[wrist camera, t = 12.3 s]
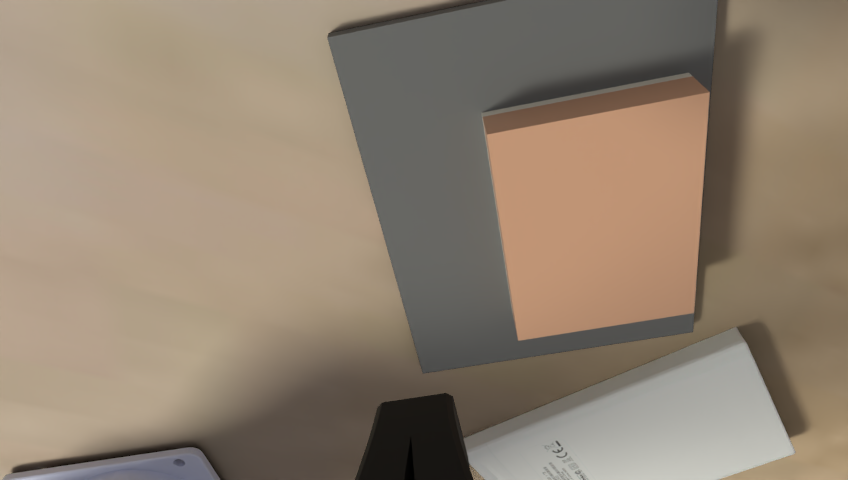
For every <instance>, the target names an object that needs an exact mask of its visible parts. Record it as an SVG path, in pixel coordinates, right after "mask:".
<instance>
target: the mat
mask: <svg viewBox="0 0 848 480" xmlns="http://www.w3.org/2000/svg"><path fill="white" fill-rule="evenodd" d="M717 4H718V0H486V1H481V2H477V3H472V4H467V5H462V6H457V7H453V8H448V9H443V10H438V11H433V12H429V13H424V14H419V15H414V16H409V17H405V18H400V19H395V20H390V21H385V22H381V23H376V24H371V25H366V26H361V27H357V28H352V29H347V30H342V31H337V32H333V33H329V34H328V37H327V38H328V42H329V45H330V49H331V52H332V56H333V59H334V63H335V66H336V70H337V73H338V77H339V80H340V84H341V87H342V91H343V94H344V98H345V101H346V105H347V108H348V112H349V115H350V119H351V122H352V126H353V130H354V133H355V137H356V140H357V144H358V147H359V151H360V154H361V158H362V161H363V165H364V168H365V172H366V175H367V179H368V182H369V186H370V189H371V193H372V196H373V200H374V203H375V207H376V210H377V214H378V217H379V221H380V224H381V228H382V231H383V235H384V238H385V242H386V246H387V249H388V253H389V256H390V260H391V263H392V267H393V270H394V274H395V277H396V281H397V284H398V288H399V291H400V295H401V298H402V302H403V305H404V309H405V312H406V316H407V319H408V323H409V326H410V330H411V333H412V337H413V340H414V344H415V347H416V351H417V355H418V358H419V362H420V365H421V369H422V372H423V373H429V372H436V371H442V370H449V369H455V368H462V367H468V366H475V365H481V364H488V363H494V362H501V361H507V360H514V359H520V358H527V357H533V356H540V355H546V354H553V353H560V352H566V351H573V350H579V349H586V348H592V347H599V346H605V345H612V344H618V343H625V342H631V341H638V340H644V339H651V338H657V337H664V336H670V335H677V334H683V333H690V332H693V325H694V313H691V314H685V315H678V316H672V317H666V318H659V319H653V320H647V321H640V322H634V323H628V324H621V325H615V326H609V327H602V328H596V329H590V330H583V331H577V332H571V333H564V334H558V335H552V336H545V337H539V338H533V339H526V340H520V341H518V337H517V332H516V327H515V323H514V318H513V313H512V307H511V301H510V294H509V288H508V281H507V275H506V268H505V262H504V255H503V249H502V242H501V236H500V230H499V223H498V217H497V210H496V204H495V197H494V191H493V184H492V178H491V171H490V165H489V159H488V152H487V146H486V139H485V133H484V126H483V120H482V113H483V112H488V111H493V110H498V109H503V108H508V107H513V106H519V105H524V104H529V103H534V102H539V101H544V100H550V99H555V98H560V97H565V96H570V95H575V94H581V93H586V92H591V91H596V90H601V89H606V88H611V87H617V86H622V85H627V84H632V83H637V82H642V81H648V80H653V79H658V78H663V77H668V76H673V75H679V74H684V73H690V74H691V75H692V76H693V77H694V78H695V79H696V80H697V81H698V82H699V83H700V84H702V85H703V86H704V87H705V88H706V89H707V90H708V91H709V92H710V96H709V110H708V124H709V111H710V97H711V84H712V71H713V57H714V44H715V31H716V17H717ZM708 124H707V138H708ZM707 138H706V151H707ZM705 164H706V152H705ZM704 178H705V166H704ZM703 191H704V180H703ZM702 205H703V194H702ZM701 218H702V208H701ZM700 231H701V223H700ZM699 245H700V237H699ZM698 258H699V251H698ZM697 271H698V265H697ZM696 285H697V279H696ZM695 298H696V293H695ZM694 312H695V307H694Z"/></svg>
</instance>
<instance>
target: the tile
mask: <svg viewBox="0 0 848 480" xmlns="http://www.w3.org/2000/svg"><path fill="white" fill-rule="evenodd" d="M709 96H710V92H709V91H708V90H707V89H706V88H705V87H704V86H703V85H702V84H700V83H699V82H698V81H697V80H696V79H695V78H694V77H693V76H692V75H691V74H690V73H684V74H679V75H673V76H668V77H663V78H658V79H653V80H648V81H642V82H637V83H632V84H627V85H622V86H617V87H611V88H606V89H601V90H596V91H591V92H586V93H581V94H575V95H570V96H565V97H560V98H555V99H550V100H544V101H539V102H534V103H529V104H524V105H519V106H513V107H508V108H503V109H498V110H493V111H488V112H483V113H482V120H483V126H484V133H485V139H486V146H487V152H488V159H489V165H490V171H491V178H492V184H493V191H494V197H495V204H496V210H497V217H498V223H499V230H500V236H501V242H502V249H503V255H504V262H505V268H506V275H507V281H508V288H509V294H510V301H511V307H512V313H513V318H514V323H515V327H516V332H517V337H518V341H520V340H526V339H533V338H539V337H545V336H552V335H558V334H564V333H571V332H577V331H583V330H590V329H596V328H602V327H609V326H615V325H621V324H628V323H634V322H640V321H647V320H653V319H659V318H666V317H672V316H678V315H685V314H691V313H694V307H695V293H696V279H697V265H698V251H699V237H700V223H701V208H702V194H703V180H704V166H705V152H706V138H707V124H708V110H709Z"/></svg>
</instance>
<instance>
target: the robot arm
mask: <svg viewBox="0 0 848 480" xmlns="http://www.w3.org/2000/svg"><path fill="white" fill-rule="evenodd" d="M2 480H220V478H219V477H218V475H217V474H216V472H215V471H214V469H213V468H212V466H211V464H210V463H209V461H208V460H207V458H206V457H205V455H204V454H203V452H202V451H201V450H199V449H197V448H194V447H187V448H180V449H174V450H167V451H160V452H153V453H146V454H140V455H133V456H126V457H119V458H113V459H106V460H99V461H92V462H85V463H79V464H72V465H65V466H58V467H52V468H45V469H38V470H31V471H25V472H18V473H11V474H7V475H5V476H4V478H3V479H2ZM355 480H473V477H472V475H471V472H470V467H469V461H468V455H467V451H466V447H465V443H464V439H463V435H462V431H461V427H460V423H459V419H458V415H457V411H456V407H455V403H454V399H453V396H451V395H449V394H447V393H444V394H437V395H430V396H424V397H417V398H410V399H404V400H397V401H390V402H384V403H381V404H380V406H379V407H378V408H377V412H376V416H375V420H374V423H373V427H372V430H371V434H370V437H369V440H368V444H367V447H366V450H365V453H364V456H363V459H362V461H361V464H360V467H359V470H358V473H357V476H356V478H355Z"/></svg>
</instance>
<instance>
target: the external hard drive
mask: <svg viewBox="0 0 848 480" xmlns="http://www.w3.org/2000/svg"><path fill="white" fill-rule="evenodd" d="M463 439H464V443H465V447H466V451H467V455H468V461H469V464H470V465H471V466H472V467H473V468H474V469H475V470H476V471H477V472H478V473H479V474H480V475H481V476H482V477H483V478H484V479H485V480H718V479H721V478H724V477H727V476H730V475H733V474H736V473H739V472H742V471H745V470H748V469H751V468H754V467H757V466H760V465H763V464H766V463H769V462H771V461H775V460H778V459H781V458H784V457H787V456H790V455H793V454H794V453H796V452H795V450H794V447H793V445H792V443H791V441H790V439H789V436H788V434H787V432H786V430H785V427H784V425H783V423H782V421H781V418H780V416H779V414H778V412H777V410H776V407H775V405H774V403H773V401H772V399H771V396H770V394H769V392H768V389H767V387H766V385H765V383H764V380H763V378H762V376H761V374H760V371H759V369H758V367H757V364H756V363H755V360H754V358H753V356H752V354H751V352H750V349H749V347H748V345H747V343H746V341H745V340H744V339H743V337H742V335H741V334H740V332H739V330H738V329H737V327H734V328H732V329H729V330H727V331H725V332H722V333H720V334H717V335H715V336H712V337H710V338H707V339H705V340H702V341H700V342H698V343H695V344H692V345H690V346H688V347H685V348H683V349H681V350H678V351H676V352H673V353H671V354H668V355H666V356H664V357H661V358H659V359H656V360H654V361H651V362H649V363H646V364H644V365H642V366H639V367H637V368H634V369H632V370H629V371H627V372H624V373H622V374H619V375H617V376H615V377H612V378H610V379H607V380H605V381H602V382H600V383H598V384H595V385H593V386H590V387H588V388H585V389H583V390H580V391H578V392H575V393H573V394H571V395H568V396H566V397H563V398H561V399H558V400H556V401H553V402H551V403H548V404H546V405H543V406H541V407H539V408H536V409H534V410H531V411H529V412H527V413H524V414H522V415H519V416H517V417H514V418H512V419H509V420H507V421H504V422H502V423H500V424H497V425H495V426H492V427H490V428H487V429H485V430H483V431H480V432H478V433H475V434H473V435H470V436H468V437H465V438H463Z"/></svg>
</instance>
